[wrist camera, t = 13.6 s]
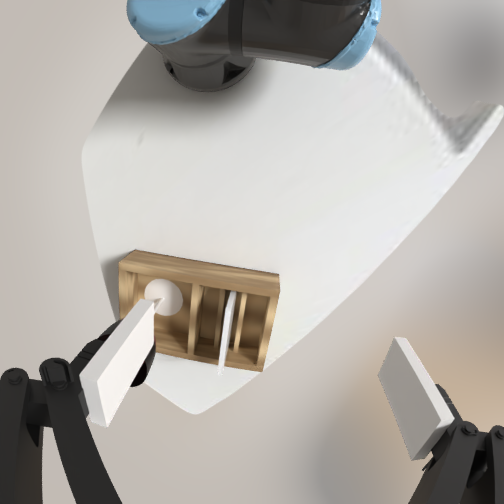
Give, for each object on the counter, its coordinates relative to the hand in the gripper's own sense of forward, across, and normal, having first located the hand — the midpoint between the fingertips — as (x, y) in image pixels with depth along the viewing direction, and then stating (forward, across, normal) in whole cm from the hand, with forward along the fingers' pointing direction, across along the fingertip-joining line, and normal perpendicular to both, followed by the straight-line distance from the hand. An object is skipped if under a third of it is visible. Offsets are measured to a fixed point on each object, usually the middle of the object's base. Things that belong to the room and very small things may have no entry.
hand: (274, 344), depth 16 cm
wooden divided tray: (+37, -10, -18) cm, 42 cm away
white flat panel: (+37, -4, -18) cm, 41 cm away
